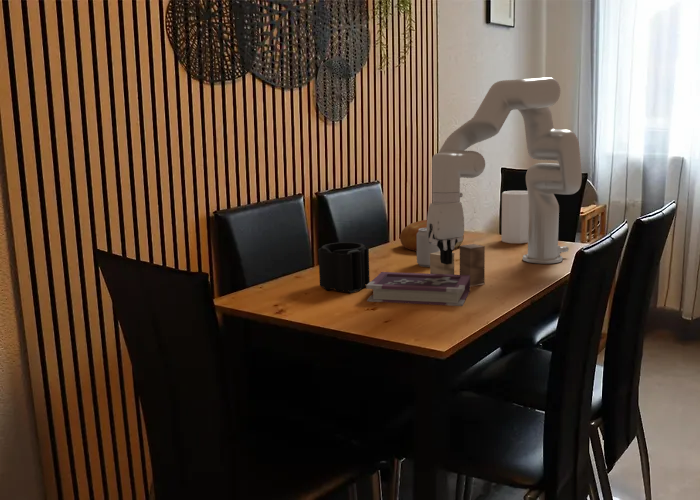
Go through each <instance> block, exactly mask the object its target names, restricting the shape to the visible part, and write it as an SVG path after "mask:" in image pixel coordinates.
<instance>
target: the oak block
mask: <svg viewBox="0 0 700 500" xmlns="http://www.w3.org/2000/svg"><path fill="white" fill-rule="evenodd" d="M429 272H430V273H429V274H453V275H455V253H454V252H452V264H443V263H441V260H440V251H439V252H435V253H430V267H429Z"/></svg>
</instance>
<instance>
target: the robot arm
mask: <svg viewBox="0 0 700 500" xmlns="http://www.w3.org/2000/svg"><path fill="white" fill-rule="evenodd" d="M560 96H561V86H560V84H559V82H558V81H557V79H555V78H553V77H549V76H548V77H532V78H531V77H530V78H529V77H527V78H517V79H505V80H499V81H496V82H494V83H493V84H492V85H491V86H490V88H489V89H488V91H487V93H486V95H485V97H484V98H483V99H482V101H481V104H480V105H479V107H478V108H477V110H476V112H475V114H474V116H473V117H472V118H471V119H469V120H468V121H466V122H465V123H463V124H461V126H459V127H458V128H457V129H456V130H454V131H453V132H451V134H450V135H449V136H448V137H446V139H445V140H444V142H443V144H442V146H441V147H440V150H439V151H438V153H435V154H433V155H432V158H431V173H432V174H431V186H432V187H431V188H432V189H431V193H432V198H431V199H432V201H431V202H432V203H431V202H430V203H429V206H428V209H427V210H428V211H427V218H426V220H427V237H428V238H430V240H429V243H430V244H433V245H436V246H437V247H438V248H439V249H440V260H441V263H443V264H452V253H453V250H455V249H454V246H455V245H456V243H457V242H460V241H462V240H463V241H464V239H463V235H464V234H465V216H464V214H465V213H464V208H463V204H462V202H461V198H463V192H461V178H464V179H466V178H467V179H473V178H477V177H478V176H480V175H482V173H483V172H484V170H485V168H486V160H485V158H484V156H483V154H481V153H479V152H477V151H475V150H467V149H469V148H470V147H471V146H473V145H475V144H479V143H481V142H483V141H486V140H489V139H491V138H492V137H495V136H496V135H498V134H499V133H500V131H501V129H502V127H503V126H504V123H505V121H506V120H507V119H508V117H509V115H510V113H511V112H512V111H514V110H517V111H518V112H519V113H520V115H521V116H522V119H523V124H524V131H525V140H526V148H527V149H526V150H527V154H528V156H529V157H530V158H531V159H533V160H537V161H557V162H558V163H555V162H554V163H553V162H538V163H534V164H532V165H530V166H529V167H528V169H527V171H526V174H525V185H526V188H527V189H526V191H528V202H529V209H528V243H527V254H523V256H522V260H523V261H524V262H527V263H531V264H542V265H549V264H550V265H551V264H558V263H561V262H563V258H564V257H563V256H562V255H561V254H562V253H567V252H569V249H570V248H569V246H568V245H563V246H561V245H559V224H560V223H559V221H560V220H559V218H560V216H559V215H560V214H559V213H560V205H559V202H558V200H557V198H556V196H555V195H574V194H576V193H577V192H579V190H580V189H581V186H582V180H583V178H582V177H583V175H582V174H583V173H582V163H581V160H582V159H581V151H580V150H581V149H580V143H579V139H578V137H577V135H576V134H575V132H573V131H572V130H570V129H556V128H555V127H554V124H553V114H552V111H551V109H550V107H553V106H554V105H555V104H556V103H558V101H559V99H560ZM464 236H465V235H464ZM436 240H437V241H436Z"/></svg>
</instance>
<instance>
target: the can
mask: <svg viewBox="0 0 700 500" xmlns="http://www.w3.org/2000/svg"><path fill="white" fill-rule="evenodd" d="M418 230H419V232H418V233H417V251H416V264H418V266H419V267H421V268H422V267H424V268H430V253H435V252H439V251H440V249H439V248H438V247H437V246H436V245H433V244H430V243H429V240H430V238H428V237H427V228H420V229H418ZM436 241H437V240H436Z"/></svg>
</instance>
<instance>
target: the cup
mask: <svg viewBox="0 0 700 500" xmlns="http://www.w3.org/2000/svg"><path fill="white" fill-rule="evenodd" d="M528 209H529V202H528V191H527V190H507V191H506V190H505V191H503V192H502V193H501V242H502V243H506V244H512V245H514V244H516V245H517V244H518V245H519V244H520V245H522V244H528Z"/></svg>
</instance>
